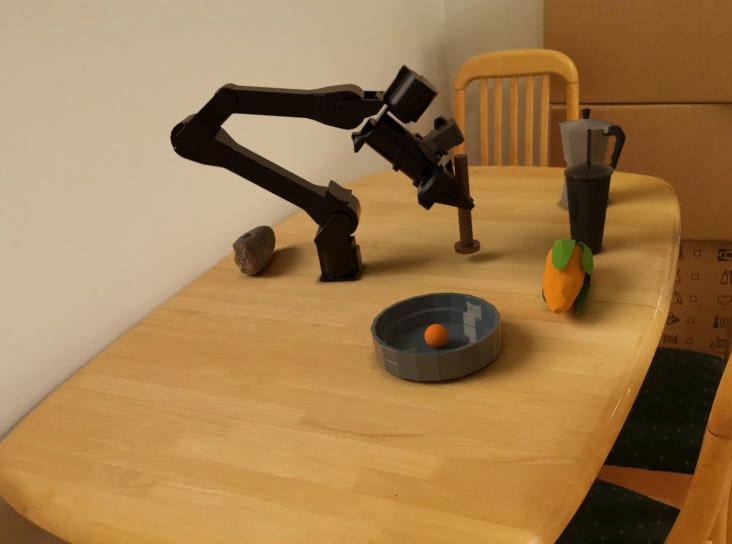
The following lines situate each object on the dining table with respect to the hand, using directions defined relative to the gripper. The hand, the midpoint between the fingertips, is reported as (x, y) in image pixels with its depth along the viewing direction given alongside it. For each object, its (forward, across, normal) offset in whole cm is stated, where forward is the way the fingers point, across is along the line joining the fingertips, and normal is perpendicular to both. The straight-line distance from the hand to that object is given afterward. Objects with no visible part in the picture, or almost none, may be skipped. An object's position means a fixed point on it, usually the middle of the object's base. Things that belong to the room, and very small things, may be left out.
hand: (472, 205), depth 114 cm
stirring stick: (+4, 0, +6) cm, 8 cm away
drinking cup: (+20, -1, -6) cm, 21 cm away
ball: (0, -29, +11) cm, 31 cm away
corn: (+16, -18, -2) cm, 24 cm away
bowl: (+2, -29, +12) cm, 32 cm away
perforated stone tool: (-21, +8, +35) cm, 42 cm away
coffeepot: (+24, +22, -10) cm, 34 cm away
